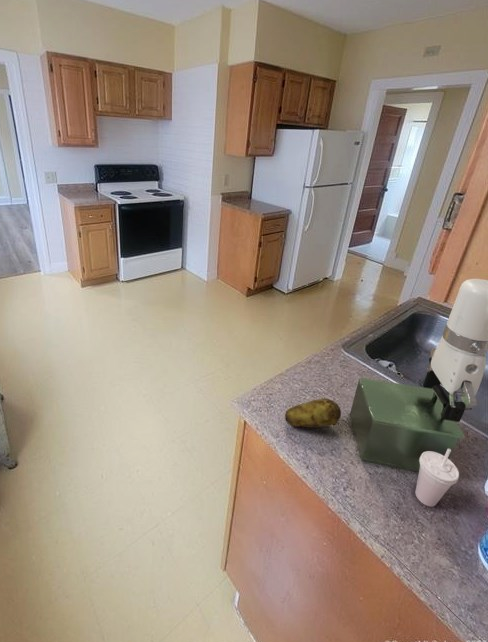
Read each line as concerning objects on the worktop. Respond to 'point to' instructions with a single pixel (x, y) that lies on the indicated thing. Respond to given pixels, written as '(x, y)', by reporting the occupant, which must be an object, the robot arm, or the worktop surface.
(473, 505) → the worktop surface
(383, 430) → the caddy
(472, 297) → the robot arm
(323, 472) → the worktop surface
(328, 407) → the potato
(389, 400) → the lid
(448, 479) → the smoothie
